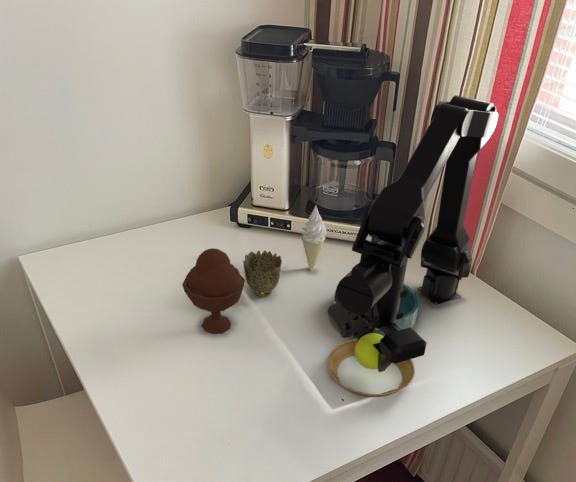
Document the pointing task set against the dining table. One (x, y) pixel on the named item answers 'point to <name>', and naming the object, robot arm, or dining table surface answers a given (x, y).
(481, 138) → the robot arm
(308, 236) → the ice cream cone
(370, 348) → the ball
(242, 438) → the dining table surface
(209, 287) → the ice cream bowl
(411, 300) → the glazed bowl
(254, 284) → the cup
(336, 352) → the plant saucer
